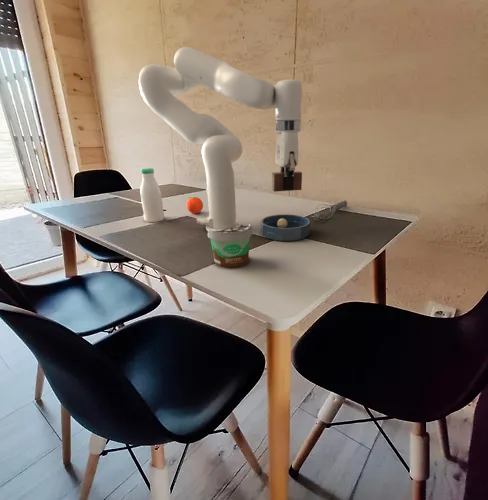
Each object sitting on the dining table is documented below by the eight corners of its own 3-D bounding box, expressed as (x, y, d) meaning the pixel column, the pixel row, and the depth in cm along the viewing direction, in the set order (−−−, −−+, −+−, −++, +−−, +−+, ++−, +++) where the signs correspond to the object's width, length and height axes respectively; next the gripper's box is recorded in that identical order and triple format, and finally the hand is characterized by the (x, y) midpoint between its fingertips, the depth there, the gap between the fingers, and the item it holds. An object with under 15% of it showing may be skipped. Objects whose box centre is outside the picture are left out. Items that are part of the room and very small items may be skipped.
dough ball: (278, 230, 107) (278, 220, 106) (275, 227, 111) (275, 217, 109) (288, 229, 108) (288, 219, 107) (285, 226, 111) (285, 216, 110)
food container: (216, 273, 79) (213, 236, 75) (209, 264, 84) (206, 229, 80) (260, 264, 83) (260, 229, 79) (251, 256, 88) (250, 222, 85)
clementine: (182, 213, 133) (180, 196, 130) (195, 209, 138) (193, 193, 135) (194, 216, 128) (192, 199, 125) (207, 212, 133) (205, 196, 130)
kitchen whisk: (352, 205, 139) (354, 191, 137) (323, 226, 113) (324, 209, 111) (339, 204, 142) (340, 190, 140) (308, 223, 116) (309, 207, 114)
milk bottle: (168, 218, 126) (162, 168, 118) (153, 223, 120) (145, 170, 112) (155, 216, 130) (148, 166, 122) (140, 220, 124) (131, 169, 116)
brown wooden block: (274, 191, 98) (274, 173, 96) (272, 189, 101) (272, 172, 99) (301, 190, 100) (302, 172, 97) (298, 188, 102) (299, 171, 100)
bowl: (267, 244, 97) (267, 230, 96) (257, 228, 112) (256, 216, 110) (316, 239, 100) (317, 226, 98) (300, 224, 115) (300, 213, 113)
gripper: (269, 127, 100) (269, 184, 107) (282, 127, 85) (281, 194, 92) (291, 126, 101) (290, 183, 108) (309, 126, 86) (306, 192, 93)
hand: (286, 187), depth 100 cm, fingers closed on brown wooden block, 2 cm apart
